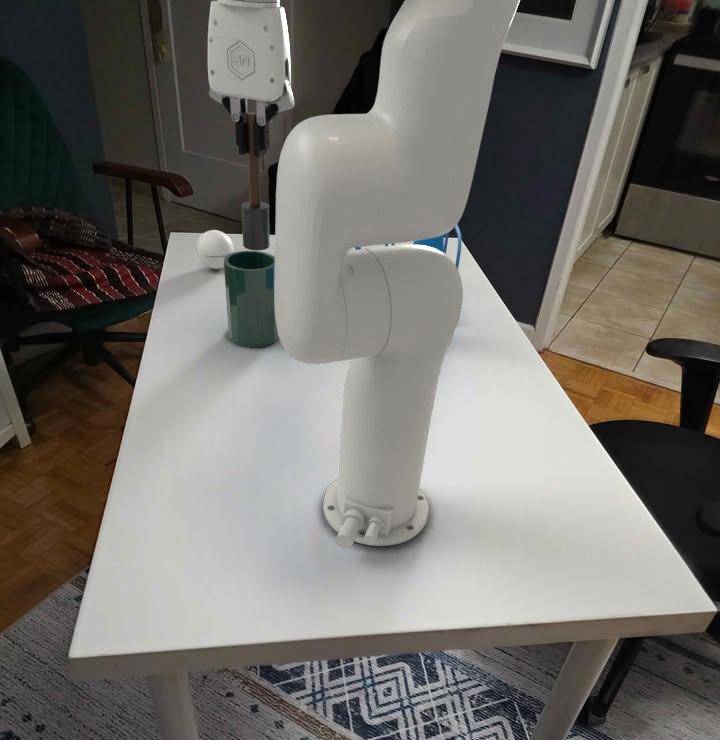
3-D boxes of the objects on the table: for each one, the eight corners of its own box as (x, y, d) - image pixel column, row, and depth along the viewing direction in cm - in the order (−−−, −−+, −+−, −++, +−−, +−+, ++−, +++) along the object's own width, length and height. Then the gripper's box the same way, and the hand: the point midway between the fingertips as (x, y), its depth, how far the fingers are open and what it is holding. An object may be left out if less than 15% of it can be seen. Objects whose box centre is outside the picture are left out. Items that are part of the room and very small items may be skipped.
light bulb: (195, 274, 127) (191, 236, 123) (201, 260, 133) (197, 223, 128) (246, 277, 128) (244, 239, 123) (250, 262, 134) (248, 226, 129)
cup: (266, 351, 106) (264, 274, 97) (220, 341, 107) (214, 264, 99) (285, 330, 112) (284, 255, 104) (241, 321, 113) (237, 247, 105)
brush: (263, 252, 97) (260, 118, 86) (238, 247, 98) (232, 113, 86) (273, 243, 100) (271, 112, 89) (249, 239, 101) (244, 108, 89)
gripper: (174, -16, 77) (189, 151, 89) (297, -2, 75) (296, 168, 87) (203, -18, 83) (214, 140, 95) (319, -5, 80) (315, 156, 92)
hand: (253, 152), depth 91 cm, fingers closed on brush
